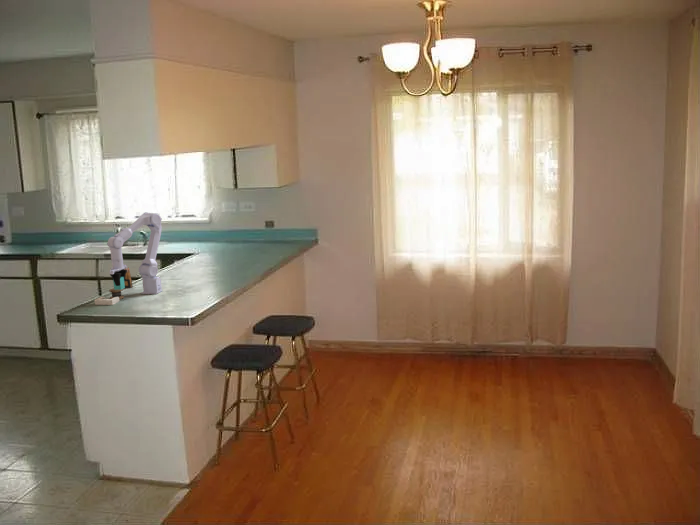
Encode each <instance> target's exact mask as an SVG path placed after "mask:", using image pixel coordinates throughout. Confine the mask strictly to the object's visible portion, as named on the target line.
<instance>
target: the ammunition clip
mask: <svg viewBox="0 0 700 525" xmlns="http://www.w3.org/2000/svg"><path fill="white" fill-rule="evenodd" d="M124 270H127V273H126V276H125V282H124V284H125V288H124V289H133V287H134V286H133V281H132V278H131V275H132V274H131V271H130V268H129V267H128V266H127V268H126V269H124Z"/></svg>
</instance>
